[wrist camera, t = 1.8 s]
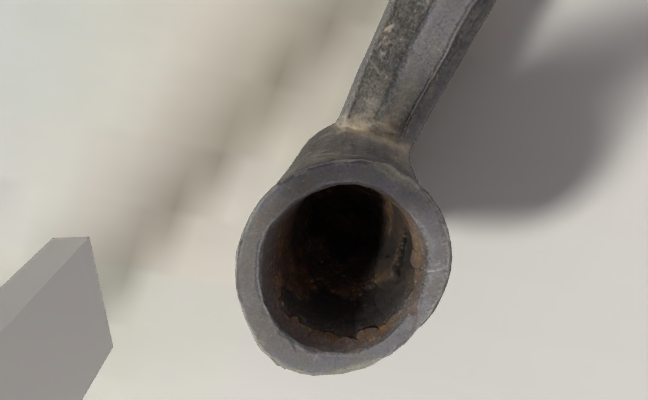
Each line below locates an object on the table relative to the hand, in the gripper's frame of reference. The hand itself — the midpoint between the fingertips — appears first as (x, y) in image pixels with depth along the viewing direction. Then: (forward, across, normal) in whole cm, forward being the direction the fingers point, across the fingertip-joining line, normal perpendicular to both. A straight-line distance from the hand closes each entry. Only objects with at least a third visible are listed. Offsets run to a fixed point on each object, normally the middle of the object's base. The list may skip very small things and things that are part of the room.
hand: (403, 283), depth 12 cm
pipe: (+12, 0, 0) cm, 12 cm away
